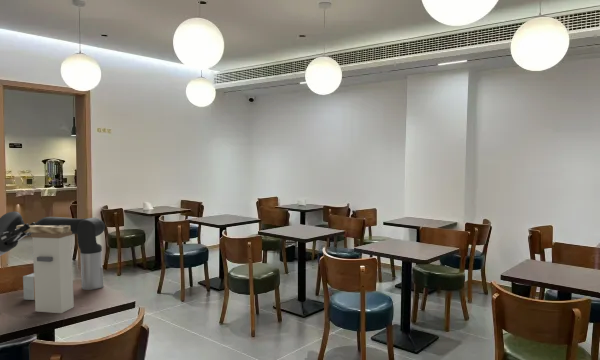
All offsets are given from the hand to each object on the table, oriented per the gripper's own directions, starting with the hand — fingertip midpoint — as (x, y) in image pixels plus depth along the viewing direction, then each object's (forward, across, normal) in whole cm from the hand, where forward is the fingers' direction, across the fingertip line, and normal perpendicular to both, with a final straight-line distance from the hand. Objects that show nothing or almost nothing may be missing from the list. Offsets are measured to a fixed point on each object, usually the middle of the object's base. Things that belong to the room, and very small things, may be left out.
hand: (31, 225), depth 177 cm
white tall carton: (-9, 0, +35) cm, 36 cm away
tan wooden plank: (+3, 0, +5) cm, 6 cm away
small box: (-27, +12, +25) cm, 39 cm away
